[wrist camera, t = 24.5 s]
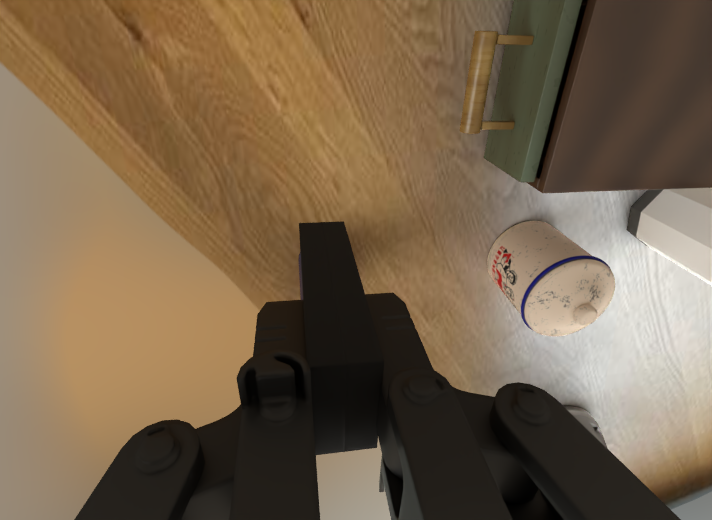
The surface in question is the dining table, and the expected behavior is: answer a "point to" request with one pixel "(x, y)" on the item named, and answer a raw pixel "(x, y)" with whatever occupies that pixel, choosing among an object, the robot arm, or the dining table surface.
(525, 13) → the drawer
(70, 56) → the dining table surface
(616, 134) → the cabinet
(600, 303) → the teacup with lid
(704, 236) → the wine bottle
